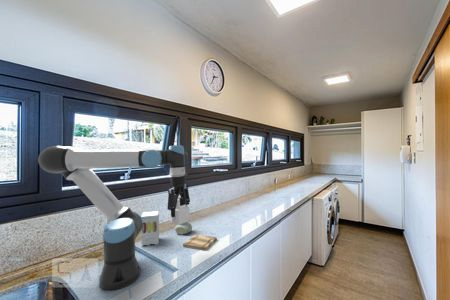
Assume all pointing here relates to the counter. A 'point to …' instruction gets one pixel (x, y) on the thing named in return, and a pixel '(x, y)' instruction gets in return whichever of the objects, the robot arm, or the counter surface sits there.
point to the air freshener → (183, 228)
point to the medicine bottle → (181, 212)
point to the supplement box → (150, 228)
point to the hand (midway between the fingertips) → (180, 219)
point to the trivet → (200, 242)
